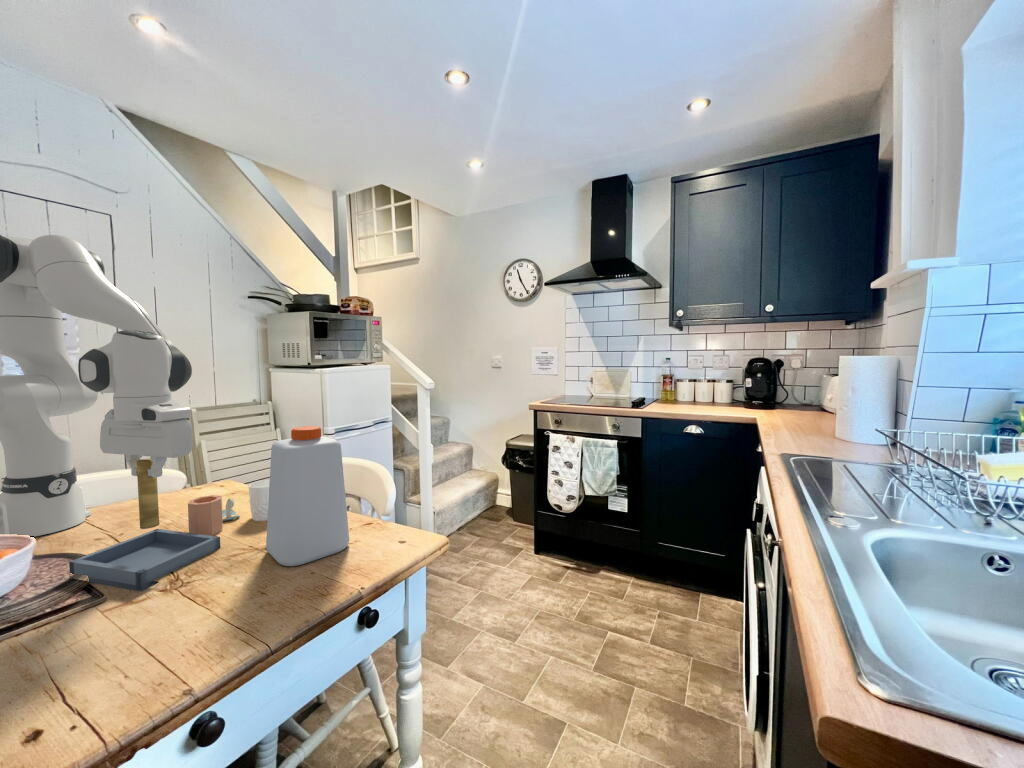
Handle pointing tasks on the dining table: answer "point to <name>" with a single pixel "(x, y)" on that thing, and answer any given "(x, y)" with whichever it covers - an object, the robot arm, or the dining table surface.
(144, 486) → the dowel pin
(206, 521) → the terracotta cup
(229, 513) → the pacifier
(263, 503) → the white cup
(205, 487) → the dining table surface
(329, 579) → the dining table surface
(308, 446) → the plastic bottle
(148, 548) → the navy tray
